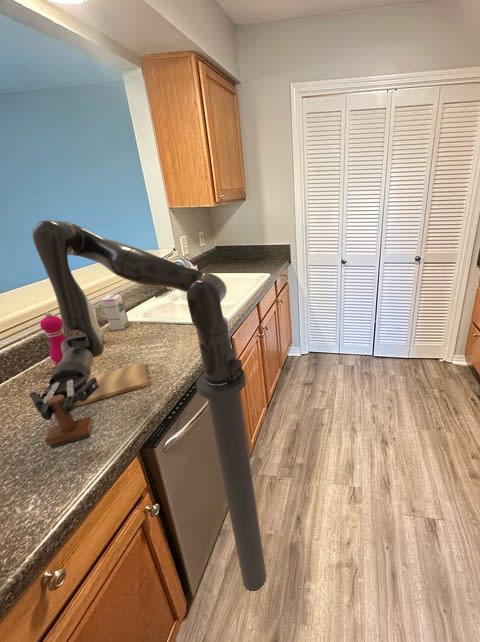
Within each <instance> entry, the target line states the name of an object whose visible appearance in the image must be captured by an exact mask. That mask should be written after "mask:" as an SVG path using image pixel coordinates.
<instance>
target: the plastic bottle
mask: <svg viewBox="0 0 480 642" xmlns="http://www.w3.org/2000/svg"><path fill="white" fill-rule="evenodd" d="M85 296H86V299H87V302H88V306H89V311H90V315H91V319H92V322H93V325H94V327H95V329H96V331H97V333H98V334H99V336H100V337H101V339H102V341H103V343H104V342H105V335H104V333H103V331H102V329H101V327H100V325H99V322H98V318H97V311H96V307H95V306H94V305H93V303H91V302H89V298H88V296H87V294H85ZM83 334H84V335H86V334H85V333H84V332H83Z"/></svg>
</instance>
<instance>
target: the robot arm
mask: <svg viewBox="0 0 480 642" xmlns="http://www.w3.org/2000/svg"><path fill="white" fill-rule="evenodd" d="M32 241H33V243H34V246H35V247H34V248H35V249H36V252H37V254H38V256H39V258H40V261H41V263H42V265H43V268H44V270H45V273H46V275H47V277H48V280H49V282H50V284H51V287H52V289H53V292H54V294H55V298H56V302H57V305H58V311H59V314H60V319H61V320H62V323H63V325H62V327H63V329H66V330H70V331H79V332H82V333H83V334H84V333H85V334H86V335H85V334H84V335H78V336H77V335H76V336H71V337H70V336H69V337H67V338H65V340H64V341H63V342H62V343H61V352H62V355H63V357H62V359H61V361H60V362H59V363H58V365H57V367H56V366H55V369H54V370H53V373H52V375H51V376H50V379H49V383H48V386H46V387H45V388H44V391H41V392H36V391H32V392H30V393H29V397H30V399H31V401H32V403H33V405H34V406H35V408H36V410H37V412H38V413H40V415H41V417H42V419H43V420H45V421H49V420H51V419H52V417H53V415H54V414H53V412H52V409H51V407H50V405H49V403H48V400H49V399H50V398H51V397H53V396H56V395H64V398H65V401H64V403H63V406H62V409H63V412H64V414H65V415H68V414H70V412H71V413H72V412H73V411H74V409H75V407H74V406H75V404H77V402H78V401H81V402H82V401H85V400H86V399H87V398H88V397H89V396H90V395H91V394H92V393H93V392H94V391H95V390H96V389H97V388H98V387H99V386H98V383H97V380H96V378H92V379H90V380H89V381H88V379H89V377H91V373H92V372H91V371H92V366H93V361H94V358H98V357H101V356H102V354H103V353H104V351H105V344H104V342H103V341H102V339H101V337H100V336H99V334H98V333H97V331H96V329H95V327H94V325H93V322H92V319H91V315H90V311H89V306H88V302H89V301H88V302H87V299H86V296H85V295H86V294H85V292H84V291H83V289H82V288H81V286H80V285H79V283H78V282H77V280H76V278H75V277H74V275H73V274H72V271H71V267H70V263H69V259H68V256H75V257H80V258H85V259H87V260H91V261H94V262H97V263H99V264H100V265H102V266H103V267H105V268H106V269H108V270H109V271H110V273H113V274H114V275H116V276H118V277H120V278H122V279H125V280H127V281H130V282H133V283H136V284H138V285H142V286H150V287H157V288H170V289H175V290H179V291H182V292H185V293H186V301H187V306H188V310H189V315H190V319H191V323H192V325H193V326H194V328H195V330H196V335H197V341H198V346H199V352H200V356H201V361H202V366H203V373H204V372H205V377H206V383H207V384H208V385H210V386H224V385H227V384H232V382H233V381H234V379H235V378H236V376H237V375H238V374H239V372H240V373H241V374H240V375H239V377H238V379H240V378H241V377H242V376H243V371H244V369H243V364H242V359H236V352H235V348H234V347H233V348H232V343H231V336H230V328H229V323H228V318H226V317H225V316H224V315H223V314H224V313H223V310H222V303H221V302H222V301H223V300H224V298H226V295H227V293H228V292H227V291H228V289H227V285H226V283H225V281H224V280H223V279H222V278H220V277H219V276H218V275H216V274H213V273H210V272H206V271H203V270H199V269H194V268H191V267H187V266H184V265H182V264H179V263H176V262H173V261H171V260H168V259H166V258H164V257H160V256H158V255H155V254H153V253H150V252H148V251H145V250H143V249H140V248H138V247H134V246H131V245H128V244H125V243H122V242H119V241H116V240H111V239H108V238H105V237H102V236H101V235H98V234H96V233H94V232H92V231H91V230H88V229H86V228H84V227H82V226H79V225H78V224H75V223H72V222H69V221H65V220H48V219H47V220H45V219H44V220H41V221H39V222H37V223H36V224H35V225H34V226H33V229H32ZM84 392H85V394H84Z"/></svg>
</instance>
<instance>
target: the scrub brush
mask: <svg viewBox="0 0 480 642" xmlns="http://www.w3.org/2000/svg"><path fill="white" fill-rule="evenodd" d="M64 401H65V398H64V395H56V396H53V397H51V398H50V399H49V400H48V403H49V405H50V407H51V409H52V412H53V414H52V415H53V416H54V418H55V420H56V423H57V425H55V426H52V427H49V429H48V431H47V433H46V437H45V439H44V441H45V443H46V445H47V446H50V449H51V450H54V449H58V448H61V447H63V446H67V445H70V444H75V443H77V442H81V441H84V440H87V439H90V438H91V437H92V434H93V433H92V432H93V425H92V424H93V420H92V418H91V416H88V417H85V418H81V419H77V420H75V419H74V417H73V415H72V411H71V412H70V414H68V415H65V414H64V412H63V409H62V406H63V403H64Z"/></svg>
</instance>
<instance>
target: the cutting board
mask: <svg viewBox="0 0 480 642" xmlns="http://www.w3.org/2000/svg"><path fill="white" fill-rule="evenodd" d="M92 378H96V380H97V383H98V386H99V387H98V388H97V389H96V390H95V391H94V392H93V393H92V394H91V395H90V396H89V397H88V398H87V399H86V400H85V401H82V402H81V401H78V402H77V404H75V406H74V408H75V407H79V406H82V405H85V404H86V405H87V404H90V403H92V402H96V401H100V400H103V399H107V398H110V397H113V396H116V395H119V394H123V393H127V392H130V391H133V390H137V389H140V388H144V387H147V386H150V383H149V378H148V374H147V369H146V364H145V362H141V363H138V364H133V365H129V366H125V367H122V368H121V367H120V368H118V369H114V370H110V371H106V372H101V373H98V374H94V375H90V376H89V379H88V381H89V380H90V379H92ZM84 394H85V392H84Z"/></svg>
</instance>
